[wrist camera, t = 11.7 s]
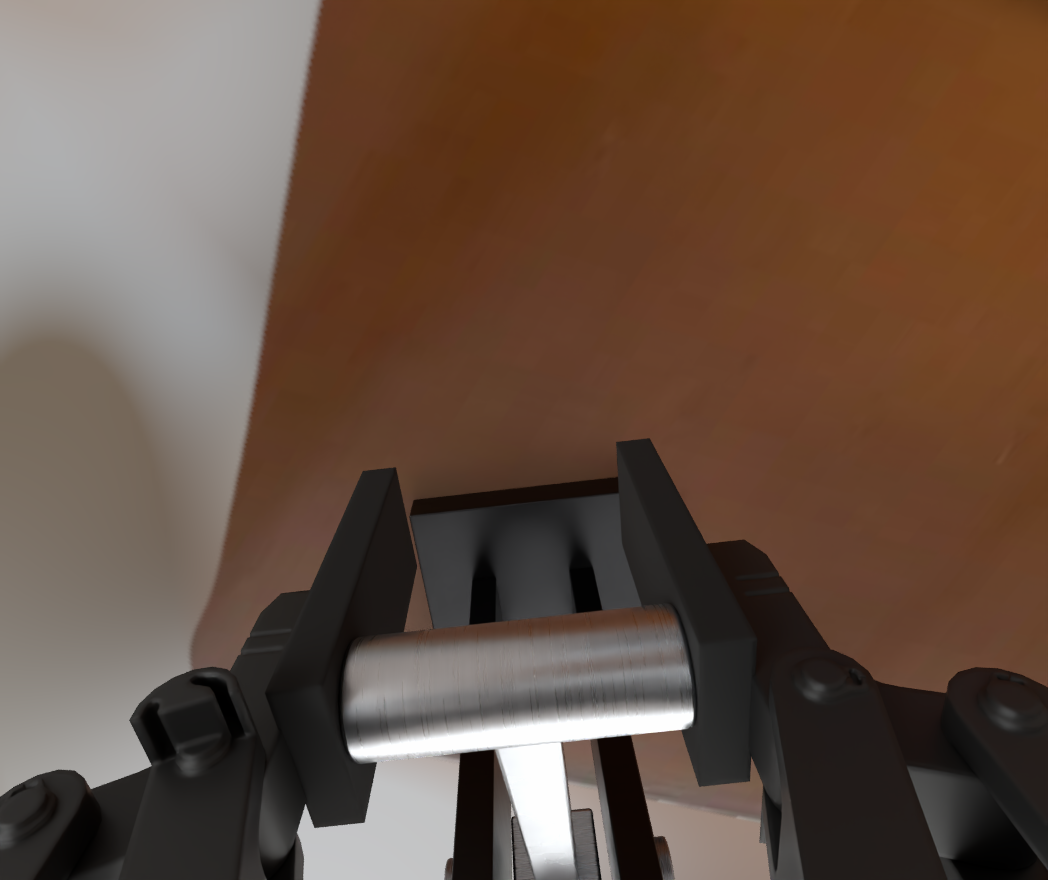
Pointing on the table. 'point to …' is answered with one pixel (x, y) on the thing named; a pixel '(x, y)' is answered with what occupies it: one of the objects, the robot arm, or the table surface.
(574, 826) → the lever
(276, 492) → the table surface
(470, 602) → the bracket
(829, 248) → the table surface
